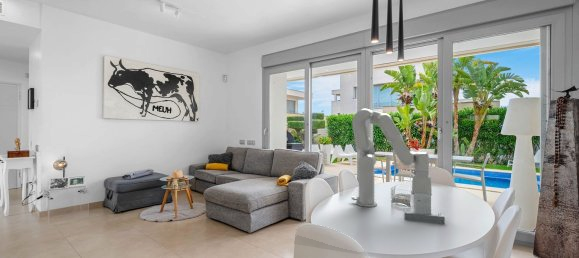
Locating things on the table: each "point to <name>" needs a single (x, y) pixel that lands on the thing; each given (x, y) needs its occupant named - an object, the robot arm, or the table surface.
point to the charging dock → (424, 217)
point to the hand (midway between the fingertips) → (421, 204)
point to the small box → (422, 203)
